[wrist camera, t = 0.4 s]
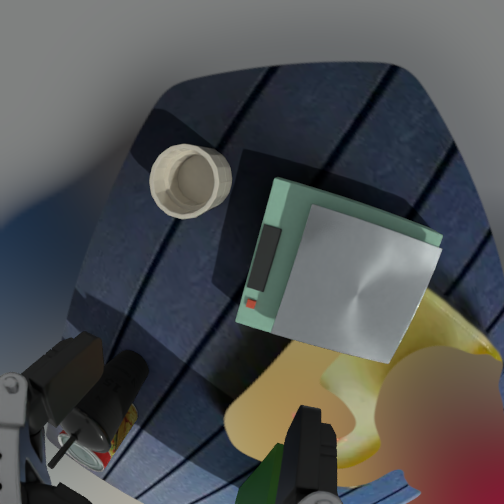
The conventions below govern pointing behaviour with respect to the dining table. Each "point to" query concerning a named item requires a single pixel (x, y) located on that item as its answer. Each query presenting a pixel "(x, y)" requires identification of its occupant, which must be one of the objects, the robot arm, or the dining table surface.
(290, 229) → the scale
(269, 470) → the hardback book
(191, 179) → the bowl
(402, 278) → the scale pan
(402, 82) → the dining table surface
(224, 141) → the dining table surface
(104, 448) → the drinking cup
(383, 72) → the dining table surface
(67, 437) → the canned food
